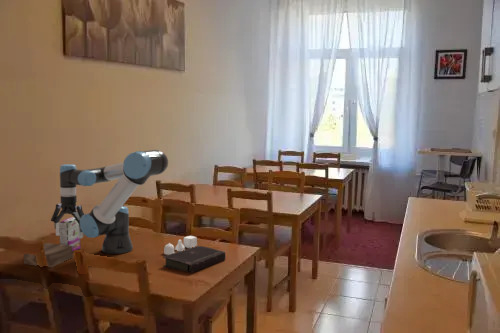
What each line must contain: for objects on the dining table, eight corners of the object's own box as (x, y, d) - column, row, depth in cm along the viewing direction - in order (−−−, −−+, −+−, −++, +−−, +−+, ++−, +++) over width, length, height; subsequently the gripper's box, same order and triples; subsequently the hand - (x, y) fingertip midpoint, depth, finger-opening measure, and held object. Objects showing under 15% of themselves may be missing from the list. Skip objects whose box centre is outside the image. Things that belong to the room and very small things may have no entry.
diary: (225, 261, 230) (226, 251, 229) (192, 275, 209) (192, 264, 209) (196, 254, 240) (196, 244, 240) (161, 266, 219) (161, 256, 219)
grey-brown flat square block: (72, 258, 230) (72, 245, 229) (51, 267, 216) (50, 254, 215) (47, 254, 234) (46, 243, 234) (24, 263, 220) (23, 251, 220)
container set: (190, 245, 255) (190, 235, 254) (197, 247, 252) (197, 237, 251) (161, 253, 239) (161, 243, 239) (168, 255, 236) (168, 245, 235)
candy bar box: (72, 247, 247) (71, 217, 245) (80, 248, 246) (79, 217, 244) (59, 254, 236) (58, 221, 234) (68, 254, 235) (67, 222, 233)
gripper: (94, 195, 238) (95, 237, 240) (53, 192, 245) (54, 232, 248) (84, 198, 230) (85, 241, 233) (42, 194, 238) (43, 235, 240)
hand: (69, 236), depth 240 cm, fingers open, 13 cm apart
